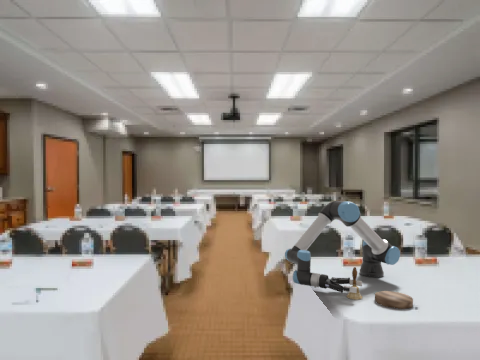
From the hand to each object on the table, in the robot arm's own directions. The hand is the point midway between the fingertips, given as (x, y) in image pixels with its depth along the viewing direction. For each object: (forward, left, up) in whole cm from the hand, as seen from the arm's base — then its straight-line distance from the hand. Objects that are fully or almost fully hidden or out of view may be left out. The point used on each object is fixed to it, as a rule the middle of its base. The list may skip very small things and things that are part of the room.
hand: (359, 287), depth 186 cm
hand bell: (+1, -2, -6) cm, 7 cm away
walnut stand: (-11, +13, -6) cm, 18 cm away
